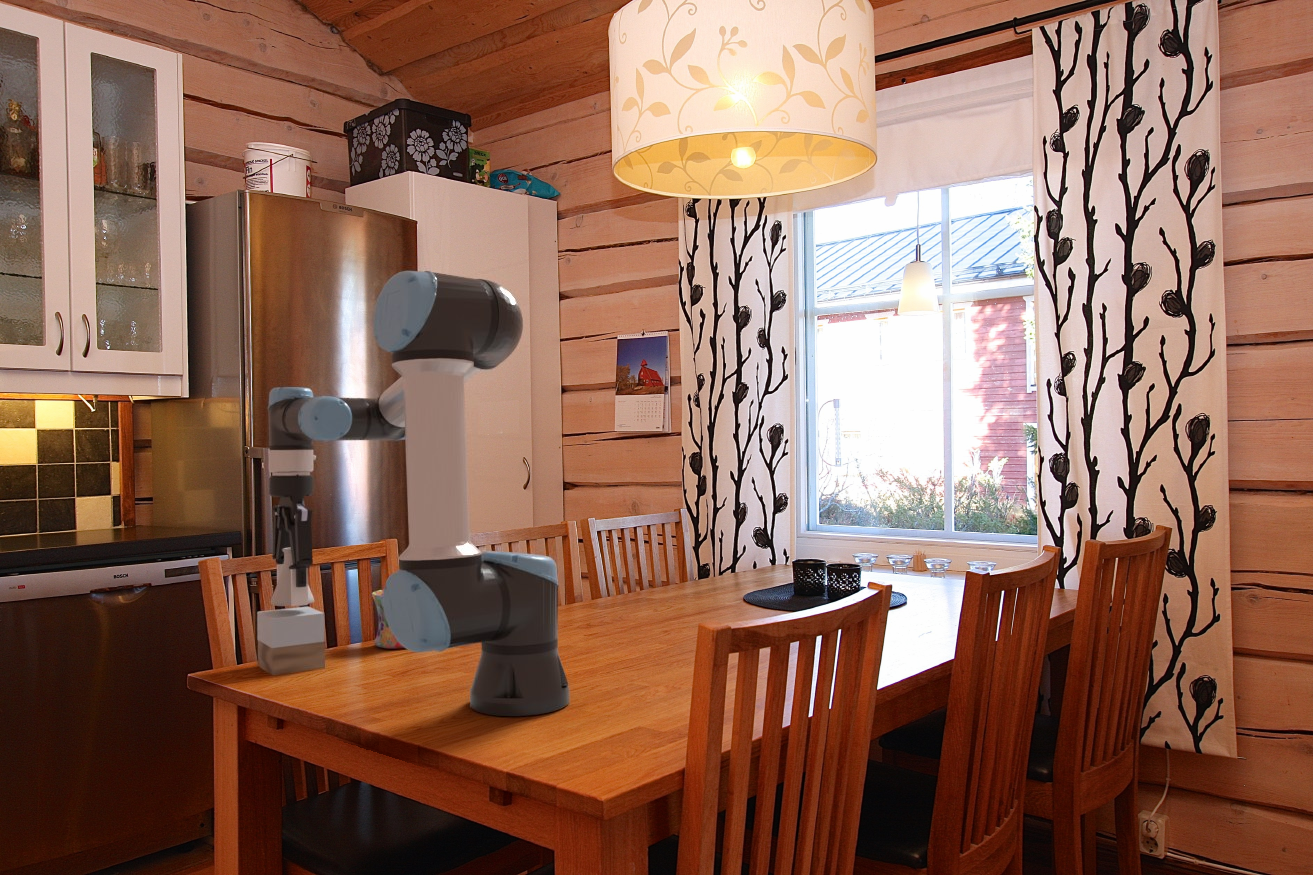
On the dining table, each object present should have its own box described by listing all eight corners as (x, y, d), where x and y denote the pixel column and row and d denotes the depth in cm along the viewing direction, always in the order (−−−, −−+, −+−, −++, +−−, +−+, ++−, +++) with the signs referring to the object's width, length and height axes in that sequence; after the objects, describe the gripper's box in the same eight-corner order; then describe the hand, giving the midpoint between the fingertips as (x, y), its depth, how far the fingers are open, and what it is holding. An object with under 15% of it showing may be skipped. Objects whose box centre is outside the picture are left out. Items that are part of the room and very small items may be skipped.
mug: (392, 653, 186) (391, 597, 186) (361, 647, 191) (361, 592, 191) (441, 642, 195) (441, 589, 195) (411, 636, 201) (410, 585, 201)
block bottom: (325, 669, 174) (325, 640, 174) (273, 676, 169) (273, 647, 169) (308, 660, 181) (308, 633, 181) (257, 667, 176) (257, 639, 176)
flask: (322, 602, 176) (322, 547, 176) (288, 609, 170) (287, 551, 170) (296, 599, 180) (296, 544, 180) (262, 605, 174) (261, 548, 174)
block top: (324, 641, 174) (324, 613, 174) (271, 647, 169) (271, 618, 169) (308, 633, 181) (308, 606, 181) (257, 639, 176) (257, 611, 176)
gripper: (332, 474, 170) (333, 607, 170) (294, 472, 185) (294, 593, 185) (288, 476, 165) (289, 612, 165) (253, 473, 181) (253, 597, 181)
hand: (292, 602), depth 175 cm, fingers closed on flask, 7 cm apart
